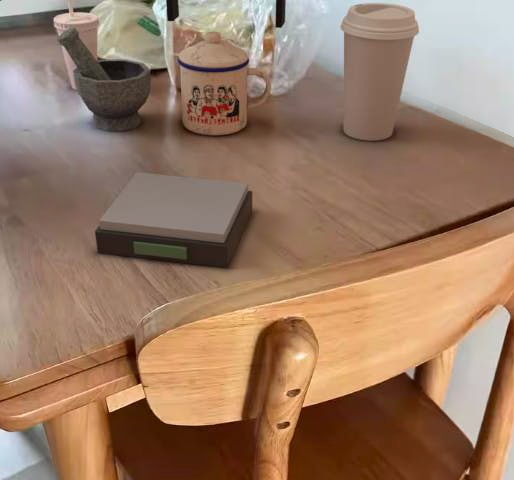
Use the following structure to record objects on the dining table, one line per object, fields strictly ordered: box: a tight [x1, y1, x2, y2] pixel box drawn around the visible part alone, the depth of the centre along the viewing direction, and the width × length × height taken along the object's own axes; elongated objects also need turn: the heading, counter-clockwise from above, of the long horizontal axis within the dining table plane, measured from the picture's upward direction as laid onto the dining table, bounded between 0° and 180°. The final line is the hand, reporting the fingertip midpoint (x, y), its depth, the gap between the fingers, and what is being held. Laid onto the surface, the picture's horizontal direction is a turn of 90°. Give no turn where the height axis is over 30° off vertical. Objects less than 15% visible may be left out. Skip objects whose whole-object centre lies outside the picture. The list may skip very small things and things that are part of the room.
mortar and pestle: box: [57, 28, 152, 132], centre depth 95 cm, size 11×9×12 cm
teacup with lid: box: [177, 31, 272, 136], centre depth 95 cm, size 12×9×12 cm
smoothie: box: [53, 0, 101, 91], centre depth 105 cm, size 6×6×14 cm
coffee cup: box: [340, 2, 420, 142], centre depth 93 cm, size 10×10×15 cm
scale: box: [94, 172, 253, 269], centre depth 74 cm, size 13×12×3 cm
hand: (226, 22), depth 91 cm, fingers open, 13 cm apart
